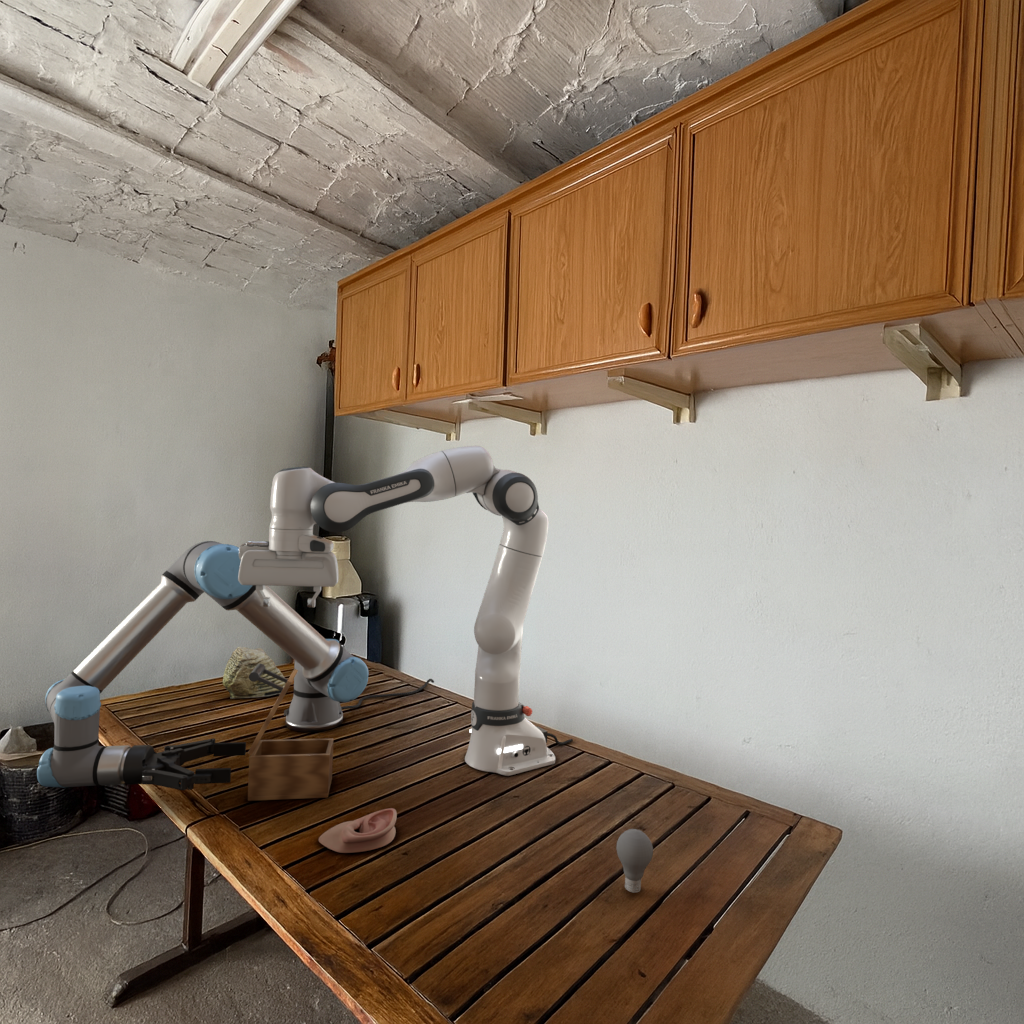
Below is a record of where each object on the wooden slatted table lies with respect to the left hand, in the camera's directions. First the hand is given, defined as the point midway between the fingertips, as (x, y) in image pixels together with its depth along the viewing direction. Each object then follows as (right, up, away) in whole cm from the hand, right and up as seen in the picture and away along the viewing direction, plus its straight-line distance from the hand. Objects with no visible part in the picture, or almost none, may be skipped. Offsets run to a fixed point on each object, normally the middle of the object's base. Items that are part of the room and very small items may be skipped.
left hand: (238, 761), depth 134 cm
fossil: (-23, -4, +64) cm, 68 cm away
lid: (+7, +10, +1) cm, 13 cm away
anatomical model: (+29, -8, -16) cm, 34 cm away
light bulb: (+78, -11, -28) cm, 84 cm away
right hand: (+10, +33, +1) cm, 34 cm away
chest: (+10, -7, +3) cm, 13 cm away
